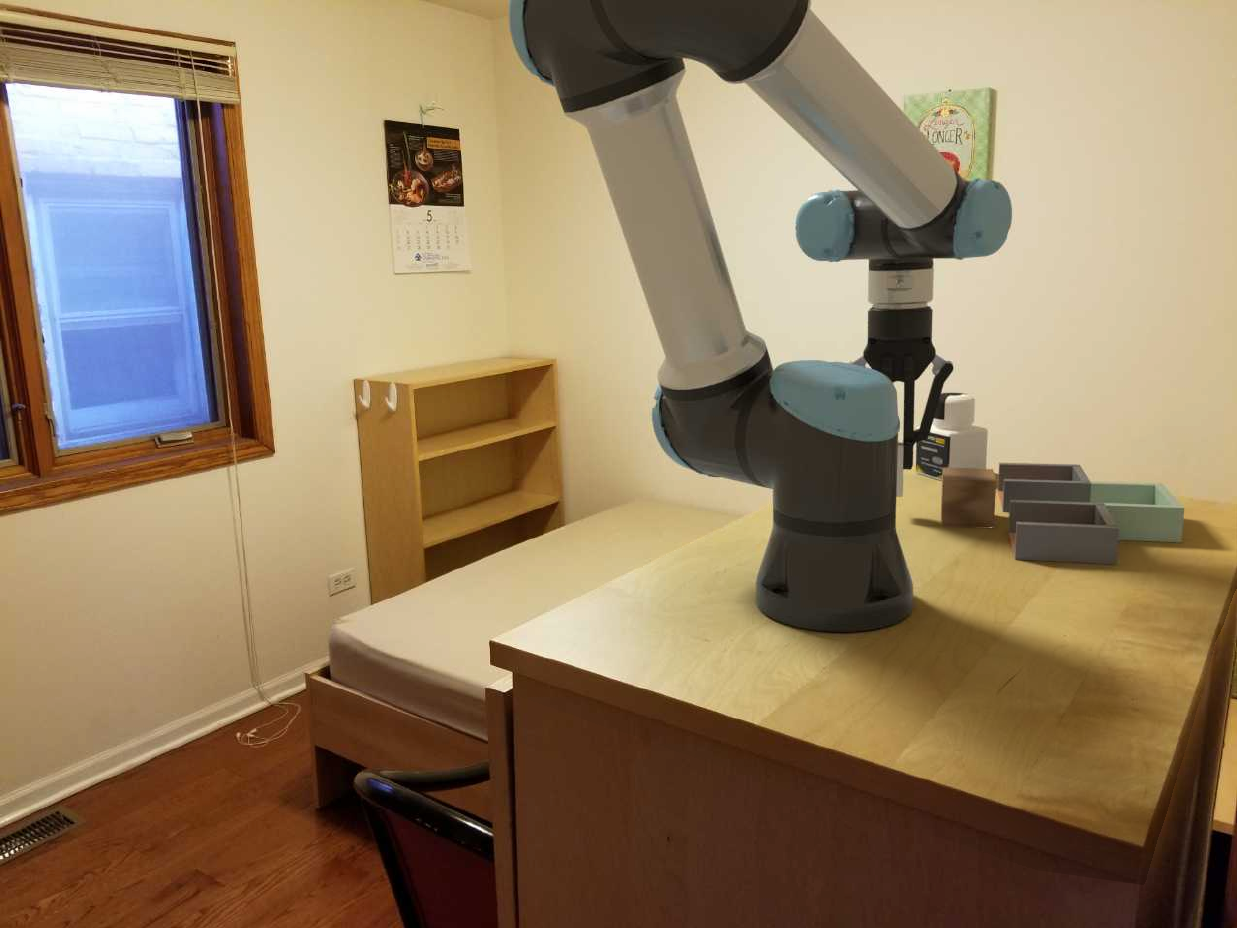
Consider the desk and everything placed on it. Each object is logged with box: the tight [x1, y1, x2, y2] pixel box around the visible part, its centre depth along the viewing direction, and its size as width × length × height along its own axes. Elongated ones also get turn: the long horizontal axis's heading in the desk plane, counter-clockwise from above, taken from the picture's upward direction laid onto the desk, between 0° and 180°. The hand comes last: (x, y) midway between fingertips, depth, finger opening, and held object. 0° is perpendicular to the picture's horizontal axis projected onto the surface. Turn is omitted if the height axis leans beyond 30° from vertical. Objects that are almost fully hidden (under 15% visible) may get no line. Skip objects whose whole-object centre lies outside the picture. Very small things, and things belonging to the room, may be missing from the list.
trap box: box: [997, 462, 1185, 565], centre depth 116 cm, size 18×29×4 cm, turn 163°
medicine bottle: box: [915, 392, 989, 482], centre depth 141 cm, size 7×7×12 cm
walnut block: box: [940, 468, 997, 529], centre depth 120 cm, size 6×6×6 cm
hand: (896, 493), depth 123 cm, fingers closed
